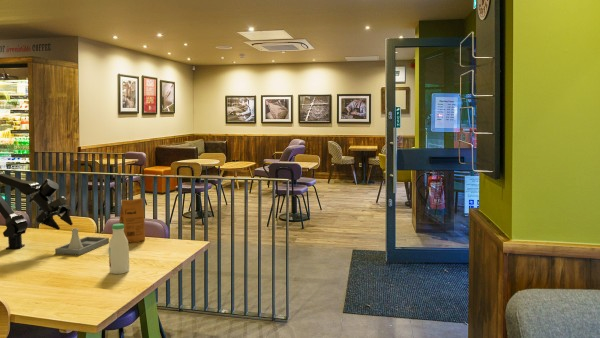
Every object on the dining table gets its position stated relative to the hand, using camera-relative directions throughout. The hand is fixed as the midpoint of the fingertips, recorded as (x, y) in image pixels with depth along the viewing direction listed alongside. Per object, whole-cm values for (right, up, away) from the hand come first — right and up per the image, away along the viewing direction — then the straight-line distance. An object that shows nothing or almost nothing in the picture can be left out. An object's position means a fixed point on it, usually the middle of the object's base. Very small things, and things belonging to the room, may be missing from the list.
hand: (65, 227), depth 230 cm
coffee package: (+25, -10, +21) cm, 34 cm away
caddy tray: (+6, -11, +6) cm, 14 cm away
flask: (+5, -11, 0) cm, 12 cm away
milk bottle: (+37, -15, -30) cm, 50 cm away
